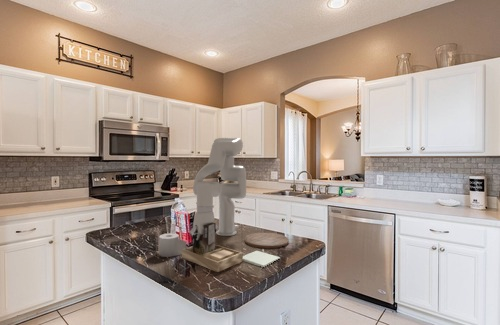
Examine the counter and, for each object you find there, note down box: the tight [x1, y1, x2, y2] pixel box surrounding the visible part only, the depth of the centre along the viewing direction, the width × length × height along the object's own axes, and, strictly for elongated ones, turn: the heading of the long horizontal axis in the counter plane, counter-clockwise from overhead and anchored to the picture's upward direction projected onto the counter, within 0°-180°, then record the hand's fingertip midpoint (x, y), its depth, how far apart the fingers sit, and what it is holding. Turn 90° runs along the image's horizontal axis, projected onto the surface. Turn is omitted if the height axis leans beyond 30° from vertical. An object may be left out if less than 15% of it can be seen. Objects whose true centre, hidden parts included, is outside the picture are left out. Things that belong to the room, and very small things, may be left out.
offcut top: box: [210, 250, 234, 261], centre depth 121 cm, size 9×6×2 cm
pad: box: [242, 250, 281, 268], centre depth 127 cm, size 13×14×1 cm
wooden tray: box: [181, 243, 244, 273], centre depth 125 cm, size 16×24×4 cm, turn 51°
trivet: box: [244, 232, 290, 249], centre depth 155 cm, size 25×25×2 cm
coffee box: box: [192, 222, 217, 255], centre depth 129 cm, size 9×6×16 cm
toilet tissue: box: [158, 232, 187, 258], centre depth 134 cm, size 9×13×9 cm
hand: (204, 245), depth 129 cm, fingers open, 8 cm apart
